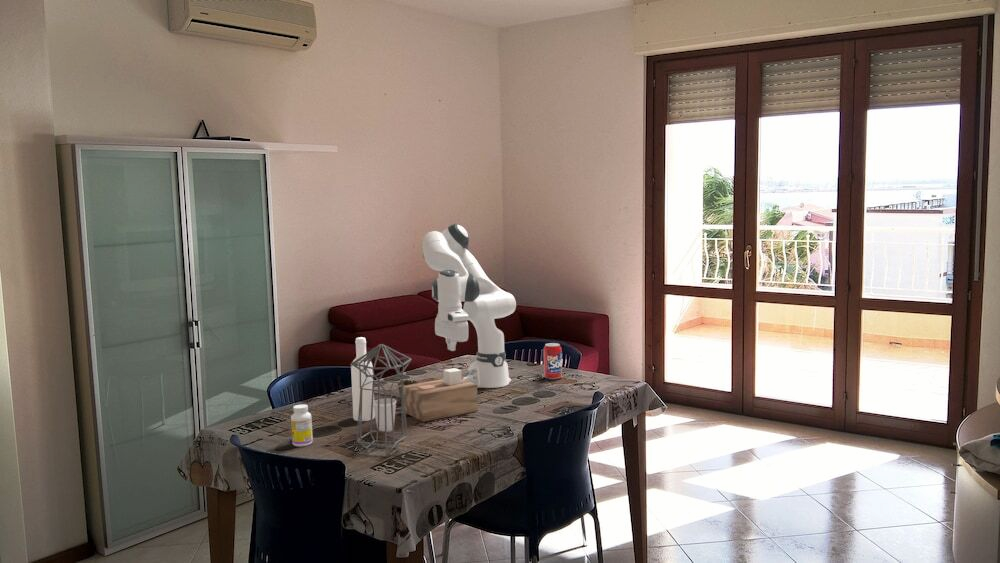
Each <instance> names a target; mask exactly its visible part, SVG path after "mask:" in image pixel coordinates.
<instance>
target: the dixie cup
mask: <svg viewBox="0 0 1000 563" xmlns="http://www.w3.org/2000/svg"><path fill="white" fill-rule="evenodd" d="M397 402H398V401H397V400H396V399H395V398H392V404H393V420H394V423H395V420H396V408H397ZM373 406H374V412H375V418H374V419H375V421H376V428H377V430H378V399H374V401H373ZM386 417H387V431H391V432H392V415H391V399H390V397H386ZM379 430H381V431H385V401H384V398H380V400H379Z"/></svg>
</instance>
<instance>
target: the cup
mask: <svg viewBox="0 0 1000 563" xmlns="http://www.w3.org/2000/svg"><path fill="white" fill-rule="evenodd" d="M417 383H418V382H417V380H412V381H411V380H410V379H405V380H403V386H405V385H411V384H417ZM400 385H401V383H397V387H398V386H400ZM397 389H398V392H399V396H400V397H401V386H400V387H398V388H397Z"/></svg>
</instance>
